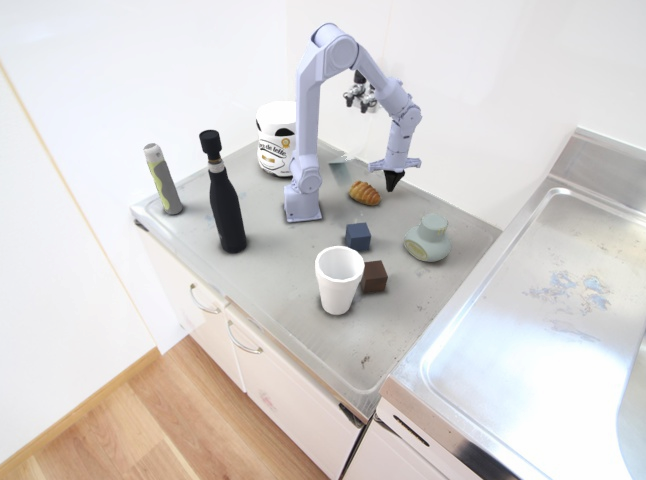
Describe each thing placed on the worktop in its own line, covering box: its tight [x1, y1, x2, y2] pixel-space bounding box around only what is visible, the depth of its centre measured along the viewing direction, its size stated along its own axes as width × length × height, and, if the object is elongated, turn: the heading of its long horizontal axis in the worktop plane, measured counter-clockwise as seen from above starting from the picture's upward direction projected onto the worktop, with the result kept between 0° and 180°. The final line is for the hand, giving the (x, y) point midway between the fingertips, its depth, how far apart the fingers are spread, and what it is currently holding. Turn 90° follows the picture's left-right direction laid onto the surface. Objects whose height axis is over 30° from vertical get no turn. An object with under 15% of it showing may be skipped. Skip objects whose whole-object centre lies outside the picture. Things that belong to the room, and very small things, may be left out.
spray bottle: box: [142, 142, 183, 215], centre depth 90 cm, size 5×5×20 cm
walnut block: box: [359, 259, 389, 295], centre depth 77 cm, size 5×5×5 cm
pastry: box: [348, 180, 382, 207], centre depth 98 cm, size 9×7×4 cm
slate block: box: [344, 221, 372, 253], centre depth 85 cm, size 5×5×5 cm
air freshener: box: [403, 212, 452, 263], centre depth 81 cm, size 11×8×10 cm
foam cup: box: [314, 245, 365, 316], centre depth 70 cm, size 10×9×13 cm
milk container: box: [255, 100, 296, 178], centre depth 105 cm, size 17×17×18 cm
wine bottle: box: [198, 129, 248, 254], centre depth 77 cm, size 6×6×30 cm
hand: (389, 190), depth 100 cm, fingers closed
